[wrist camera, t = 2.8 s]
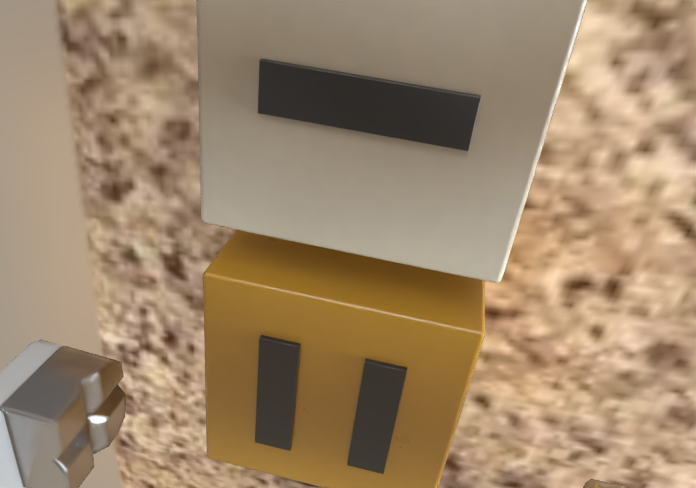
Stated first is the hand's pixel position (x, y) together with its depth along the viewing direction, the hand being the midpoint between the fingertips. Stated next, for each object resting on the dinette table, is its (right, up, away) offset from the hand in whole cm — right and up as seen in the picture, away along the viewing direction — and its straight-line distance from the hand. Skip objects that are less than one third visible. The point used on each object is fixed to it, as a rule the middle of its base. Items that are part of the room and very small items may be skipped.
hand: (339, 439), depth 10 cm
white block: (+1, +7, +1) cm, 8 cm away
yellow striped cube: (+1, +3, +4) cm, 5 cm away
